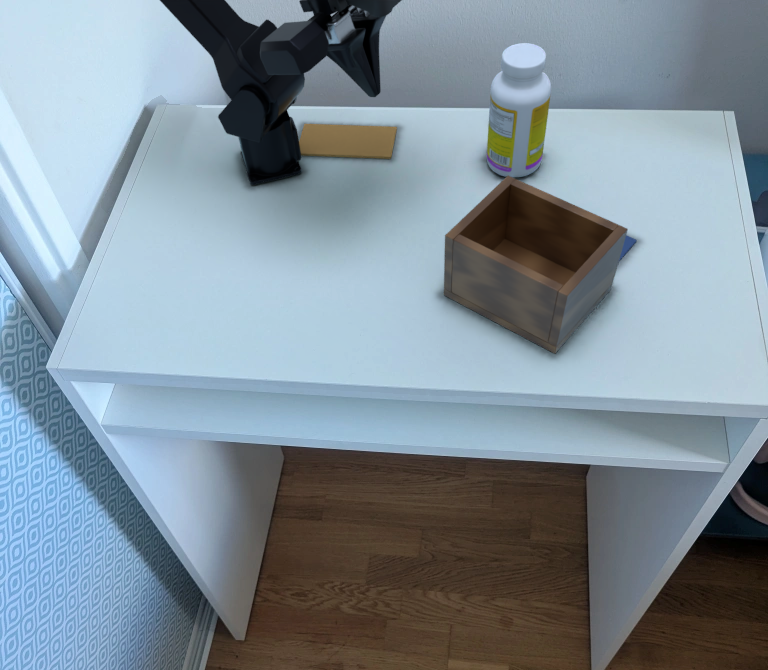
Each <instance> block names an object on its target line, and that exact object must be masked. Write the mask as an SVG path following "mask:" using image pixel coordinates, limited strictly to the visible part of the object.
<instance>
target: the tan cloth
mask: <svg viewBox="0 0 768 670" xmlns="http://www.w3.org/2000/svg"><path fill="white" fill-rule="evenodd" d="M397 132H398V126H387V125H360V124H359V125H358V124H357V125H355V124H331V123H329V124H326V123H304V124H303V127H302V130H301V134H300V137H299V145H300V151H301V157H328V158H329V157H330V158H355V159H379V160H380V159H381V160H391V159H392V157H393V151H394V146H395V141H396V137H397Z"/></svg>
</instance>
